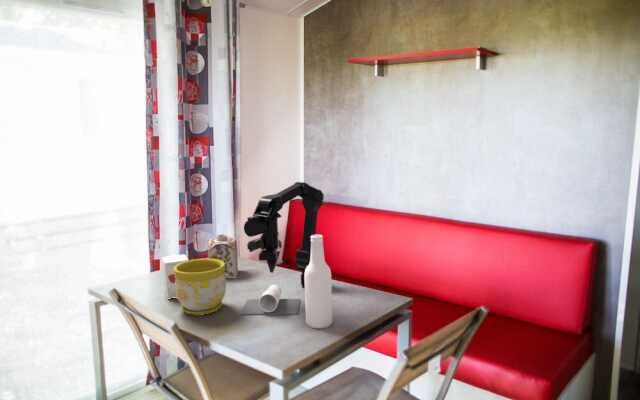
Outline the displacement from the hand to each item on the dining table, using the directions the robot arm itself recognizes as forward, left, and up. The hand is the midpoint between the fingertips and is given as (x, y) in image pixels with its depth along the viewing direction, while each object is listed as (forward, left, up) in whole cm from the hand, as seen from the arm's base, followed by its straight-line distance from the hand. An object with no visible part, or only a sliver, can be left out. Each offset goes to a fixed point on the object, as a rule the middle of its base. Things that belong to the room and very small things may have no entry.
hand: (271, 272), depth 182 cm
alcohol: (-18, +20, -12) cm, 29 cm away
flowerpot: (+25, +6, -12) cm, 28 cm away
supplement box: (+39, -9, -12) cm, 42 cm away
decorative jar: (+26, -33, -12) cm, 43 cm away
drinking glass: (0, -4, -8) cm, 9 cm away
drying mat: (0, +5, -12) cm, 13 cm away
